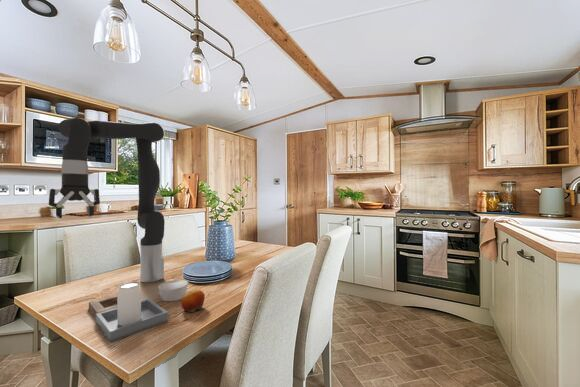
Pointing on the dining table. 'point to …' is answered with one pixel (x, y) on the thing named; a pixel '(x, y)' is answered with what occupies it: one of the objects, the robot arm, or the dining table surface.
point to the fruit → (193, 300)
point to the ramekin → (172, 290)
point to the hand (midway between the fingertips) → (75, 217)
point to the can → (129, 303)
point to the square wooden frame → (102, 304)
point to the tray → (149, 318)
